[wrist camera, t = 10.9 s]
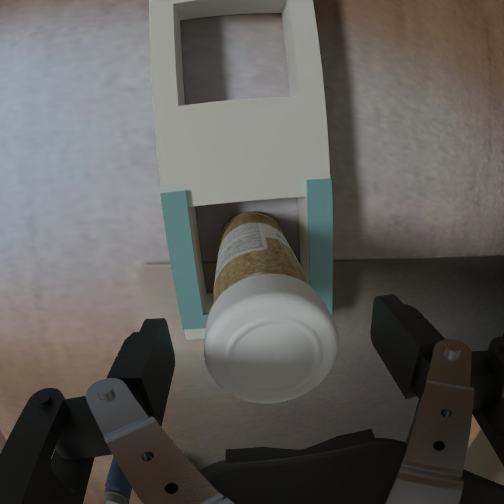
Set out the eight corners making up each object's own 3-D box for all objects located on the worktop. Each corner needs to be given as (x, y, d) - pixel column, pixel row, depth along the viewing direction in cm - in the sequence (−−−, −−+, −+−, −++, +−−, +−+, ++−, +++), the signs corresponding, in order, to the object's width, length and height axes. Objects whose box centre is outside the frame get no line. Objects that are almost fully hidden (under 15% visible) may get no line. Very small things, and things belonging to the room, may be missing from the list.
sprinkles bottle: (293, 256, 23) (356, 378, 10) (235, 281, 24) (240, 422, 11) (267, 198, 22) (317, 271, 9) (207, 226, 22) (175, 331, 9)
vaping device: (117, 461, 30) (97, 540, 19) (117, 438, 29) (92, 526, 17) (138, 467, 31) (122, 548, 19) (139, 444, 29) (119, 534, 18)
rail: (279, -109, 13) (284, -130, 10) (320, 305, 25) (331, 327, 22) (162, -101, 13) (156, -121, 10) (190, 318, 24) (185, 342, 21)
